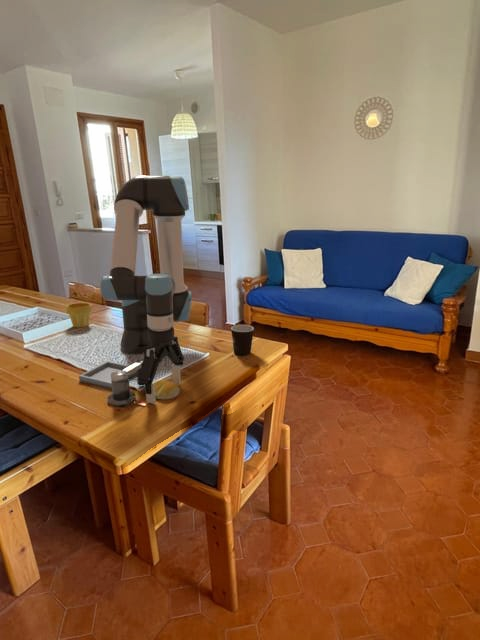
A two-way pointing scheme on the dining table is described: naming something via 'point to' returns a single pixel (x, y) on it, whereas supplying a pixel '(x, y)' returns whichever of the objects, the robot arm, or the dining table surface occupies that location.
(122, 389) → the crank hub
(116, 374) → the crank
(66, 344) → the dining table surface
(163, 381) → the bread roll
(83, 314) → the plant pot
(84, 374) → the tray
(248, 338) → the coffee mug
